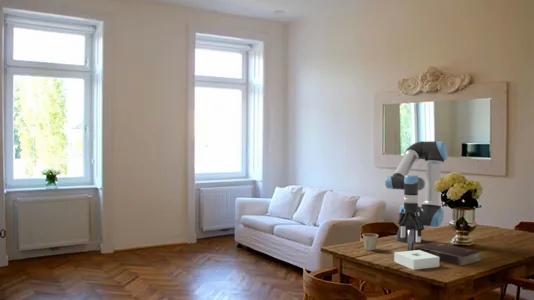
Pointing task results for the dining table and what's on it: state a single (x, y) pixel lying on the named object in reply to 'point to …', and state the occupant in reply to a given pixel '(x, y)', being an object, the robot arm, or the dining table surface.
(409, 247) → the pin
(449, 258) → the hardback book
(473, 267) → the dining table surface
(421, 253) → the bore block
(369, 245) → the flower pot
